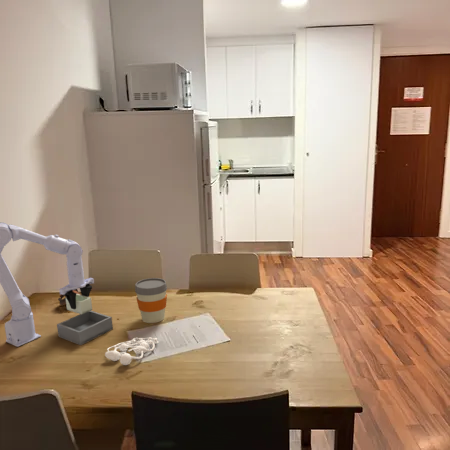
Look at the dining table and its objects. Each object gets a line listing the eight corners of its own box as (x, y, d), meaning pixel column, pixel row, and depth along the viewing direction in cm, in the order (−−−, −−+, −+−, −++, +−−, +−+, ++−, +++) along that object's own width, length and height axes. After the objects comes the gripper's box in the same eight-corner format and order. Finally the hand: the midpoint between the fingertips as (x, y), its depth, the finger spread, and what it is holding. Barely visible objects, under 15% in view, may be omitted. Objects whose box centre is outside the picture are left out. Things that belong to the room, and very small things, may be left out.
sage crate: (81, 314, 169) (80, 302, 168) (66, 309, 174) (65, 297, 173) (92, 309, 173) (91, 297, 172) (77, 305, 178) (76, 293, 177)
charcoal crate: (80, 345, 159) (79, 332, 158) (58, 336, 167) (56, 324, 166) (112, 329, 171) (111, 317, 170) (90, 321, 179) (89, 310, 177)
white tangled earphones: (139, 339, 166) (138, 328, 165) (168, 345, 158) (167, 334, 157) (98, 360, 150) (96, 349, 149) (128, 369, 142) (126, 357, 141)
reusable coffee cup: (152, 327, 171) (150, 291, 168) (131, 320, 179) (127, 284, 176) (175, 316, 181) (173, 281, 178) (153, 309, 188) (151, 275, 185)
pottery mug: (84, 308, 193) (72, 295, 189) (65, 318, 194) (53, 305, 190) (87, 292, 204) (76, 279, 200) (70, 301, 205) (59, 289, 201)
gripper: (66, 280, 162) (70, 314, 165) (97, 269, 174) (101, 301, 177) (54, 277, 166) (58, 311, 169) (85, 266, 178) (89, 298, 181)
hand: (79, 306), depth 173 cm, fingers closed on sage crate, 5 cm apart
